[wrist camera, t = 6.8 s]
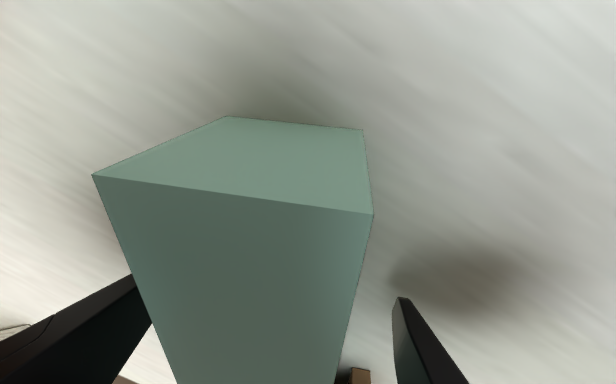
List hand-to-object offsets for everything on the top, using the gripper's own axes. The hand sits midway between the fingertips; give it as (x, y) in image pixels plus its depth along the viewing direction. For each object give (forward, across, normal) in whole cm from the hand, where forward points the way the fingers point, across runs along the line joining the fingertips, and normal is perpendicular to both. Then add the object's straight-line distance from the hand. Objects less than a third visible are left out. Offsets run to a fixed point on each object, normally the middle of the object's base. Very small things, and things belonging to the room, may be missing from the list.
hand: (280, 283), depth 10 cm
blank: (+2, 0, +1) cm, 2 cm away
